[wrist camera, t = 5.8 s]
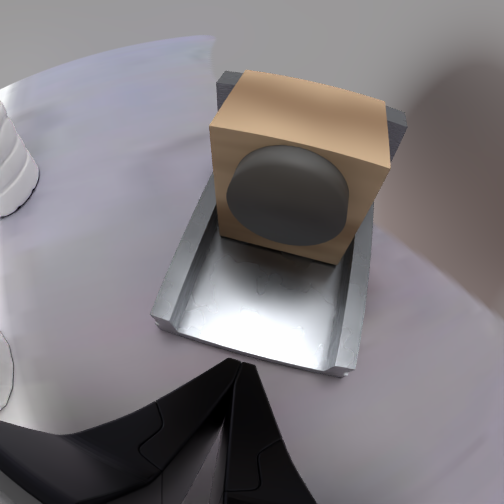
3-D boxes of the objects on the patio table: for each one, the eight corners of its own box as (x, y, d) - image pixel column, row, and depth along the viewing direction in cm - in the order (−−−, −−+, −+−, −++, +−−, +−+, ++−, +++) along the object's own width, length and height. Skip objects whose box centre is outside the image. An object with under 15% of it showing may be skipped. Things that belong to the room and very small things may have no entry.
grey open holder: (341, 377, 15) (415, 347, 8) (159, 328, 16) (104, 265, 9) (365, 198, 21) (404, 112, 14) (228, 164, 22) (225, 71, 15)
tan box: (334, 284, 17) (391, 191, 10) (213, 252, 18) (197, 145, 11) (345, 199, 20) (384, 101, 13) (243, 174, 20) (245, 69, 13)
